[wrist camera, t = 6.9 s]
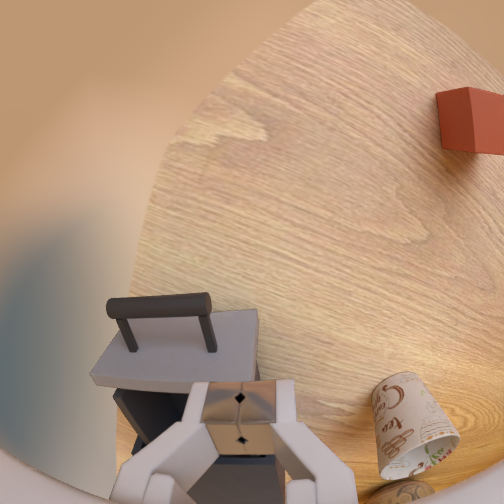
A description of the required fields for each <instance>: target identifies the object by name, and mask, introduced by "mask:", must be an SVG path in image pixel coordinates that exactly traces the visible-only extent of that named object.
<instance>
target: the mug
mask: <svg viewBox="0 0 504 504" xmlns="http://www.w3.org/2000/svg"><path fill="white" fill-rule="evenodd" d="M372 408H373V416H374V424H375V434H376V444H377V455H378V468H379V474H380V476H381V478H383V479H386V480H396V479H402V478H406V477H410V476H413V475H415V474H418V473H420V472H423V471H425V470H427V469H429V468H431V467H432V466H434V465H436V464H437V463H439V462H440V461H442V460H443V459H445V458H446V457H447V456H448V455H450V454H451V453H452V452H453V451H454V450H455V448H456V447H457V446H458V444H459V442H460V436H459V433H458V432H457V430H456V429H455V427H454V426H453V424H452V423H451V421H450V420H449V418H448V417H447V415H446V414H445V412H444V411H443V410H442V408H441V407H440V405H439V404H438V402H437V401H436V400H435V398H434V397H433V395H432V394H431V393H430V391H429V390H428V388H427V387H426V386H425V384H424V383H423V382H422V380H421V379H420V378H419V376H418V375H416V374H415V373H412V372H403V373H398V374H396V375H393V376H391V377H389V378H387V379H386V380H384V381H383V382H382V383H380V384H379V385H378V386H377V387H376V389H375V390H374V392H373V394H372Z"/></svg>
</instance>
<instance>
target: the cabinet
mask: <svg viewBox="0 0 504 504" xmlns="http://www.w3.org/2000/svg"><path fill="white" fill-rule="evenodd" d="M145 446H146V445H145V443H144V442H143V441H142V439H141V438H140V437H139V435H138V436H137V439H136V442H135V444H134V447H133V450H132V452H131V454H132V455H133V456H134V455H135V454H136V453H138V452H139V451H140V450H141V449H143V448H144V447H145ZM186 493H187V494H188V495H189V496H190V497H191V498H192V499H193V500H194V501H195V502H196V503H197V504H285V468H284V467H283V466H282V464H281V463H280V462H279V460H278V459H277V458H276V456H275V454H268V455H265V457H259V458H232V457H218V458H217V459H216V460H215V461H214V463H213V464H212V465H211V466H210V467H209V468H208V470H207V471H206V472H205V473H204V474H203V475H202V476H201V477H200V478H199V480H198V481H197V482H196V483H195V484H194V485H193V486H192V487H191V488H190V489H189V490H188V491H187V492H186Z"/></svg>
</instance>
